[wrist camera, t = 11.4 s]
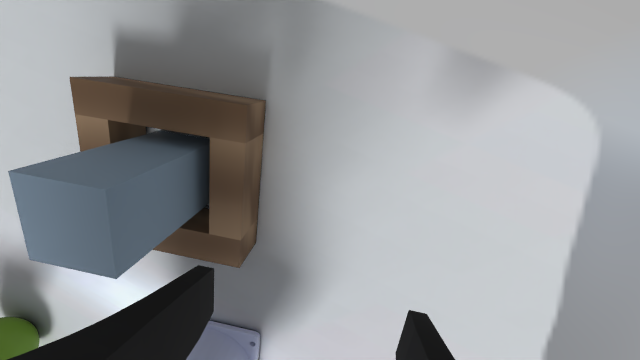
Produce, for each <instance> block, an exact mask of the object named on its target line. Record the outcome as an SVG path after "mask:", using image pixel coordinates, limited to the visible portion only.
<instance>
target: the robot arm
mask: <svg viewBox="0 0 640 360" xmlns="http://www.w3.org/2000/svg"><path fill="white" fill-rule="evenodd" d="M213 308H214V268H209V267H204V266H200V265H198V266H197V267H195V268H193V269H191V270H190V271H188V272H186V273H185V274H183V275H181V276H180V277H178V278H177V279H175V280H173V281H172V282H170V283H168V284H167V285H165V286H163V287H162V288H160V289H158V290H157V291H155V292H153V293H151V294H150V295H148V296H146V297H145V298H143V299H141V300H139V301H137V302H135V303H134V304H132V305H130V306H128V307H126V308H124V309H122V310H121V311H119V312H117V313H115V314H113V315H111V316H109V317H107V318H105V319H103V320H101V321H99V322H97V323H95V324H93V325H91V326H88V327H86V328H84V329H82V330H80V331H78V332H75V333H73V334H71V335H68V336H66V337H64V338H61V339H59V340H56V341H54V342H51V343H49V344H46V345H44V346H41V347H39V348H36V349H34V350H31V351H29V352H26V353H24V354H21V355H18V356H15V357H13V358H10V359H7V360H258V358H259V347H260V334H259V333H258V332H256V331H252V330H248V329H244V328H239V327H235V326H231V325H226V324H222V323H217V322H213V321H209V320H210V317H211V315H212V313H213ZM396 360H455V359H454V357H453V356H452V354H451V353H450V351H449V349H448V348H447V346H446V345H445V343H444V341H443V340H442V338H441V337H440V335H439V333H438V332H437V330H436V328H435V327H434V325H433V323H432V322H431V320H430V319H429V317H428V315H427V314H425V313H420V312H415V311H411V310H409V311H408V314H407V318H406V321H405V324H404V328H403V331H402V334H401V337H400V341H399V344H398V347H397V351H396Z"/></svg>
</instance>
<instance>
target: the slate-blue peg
mask: <svg viewBox="0 0 640 360" xmlns="http://www.w3.org/2000/svg"><path fill="white" fill-rule="evenodd" d="M8 172H9V176H10V180H11V184H12V188H13V193H14V197H15V201H16V205H17V209H18V213H19V218H20V222H21V226H22V230H23V234H24V238H25V242H26V247H27V251H28V255H29V259H30V260H33V261H38V262H42V263H47V264H51V265H56V266H60V267H65V268H69V269H74V270H78V271H83V272H87V273H92V274H96V275H101V276H105V277H110V278H114V279H117V278H118V277H119V276H121V275H122V274H123V273H124V272H125V271H127V270H128V269H129V268H130V267H132V266H133V265H134V264H135V263H136V262H138V261H139V260H140V259H141V258H143V257H144V256H145V255H146V254H148V253H149V252H150V251H151V250H152V249H154V248H155V247H156V246H157V245H159V244H160V243H161V242H162V241H164V240H165V239H166V238H167V237H168V236H170V235H171V234H172V233H173V232H175V231H176V230H177V229H178V228H179V227H181V226H182V225H183V224H184V223H186V222H187V221H188V220H189V219H191V218H192V217H193V216H194V215H195V214H197V213H198V212H199V211H200V210H202V209H203V208H204V207H205V206H206V205H208V204H209V180H210V139H209V138H203V137H197V136H191V135H185V134H179V133H173V132H167V131H162V130H160V131H157V132H153V133H149V134H145V135H142V136H138V137H134V138H130V139H127V140H123V141H119V142H115V143H112V144H108V145H104V146H101V147H97V148H93V149H89V150H86V151H82V152H78V153H74V154H71V155H67V156H63V157H59V158H56V159H52V160H48V161H45V162H41V163H37V164H33V165H30V166H26V167H22V168H18V169H15V170H11V171H8Z"/></svg>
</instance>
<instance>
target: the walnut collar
mask: <svg viewBox="0 0 640 360" xmlns="http://www.w3.org/2000/svg"><path fill="white" fill-rule="evenodd" d="M70 84H71V90H72V97H73V104H74V111H75V117H76V124H77V131H78V138H79V144H80V151H81V152H82V151H86V150H89V149H93V148H97V147H101V146H104V145H108V144H112V143H115V142H119V141H123V140H127V139H130V138H134V137H138V136H142V135H145V134H146V127H152V128H158V129H164V130H170V131H175V132H181V133H187V134H193V135H199V136H205V137H210V180H209V209H208V208H203V209H202V210H200V211H199V212H198V213H197V214H195V215H194V216H193V217H192V218H191V219H189V220H188V221H187V222H186V223H184V224H183V225H182V226H181V227H179V228H178V229H177V230H176V231H175V232H173V233H172V234H171V235H170V236H168V237H167V238H166V239H165V240H164V241H162V242H161V243H160V244H159V245H157V246H156V247H155V248H154V249H152V250H157V251H162V252H166V253H171V254H176V255H181V256H185V257H190V258H195V259H200V260H204V261H209V262H214V263H218V264H223V265H228V266H233V267H237V268H240V266H241V264H242V263H243V261H244V260H245V258H246V257H247V255H248V254H249V252H250V251H251V249H252V248H253V246H254V245H255V243H256V233H257V219H258V205H259V190H260V176H261V162H262V148H263V133H264V119H265V105H266V101H265V100H259V99H252V98H246V97H240V96H233V95H227V94H220V93H214V92H208V91H201V90H195V89H189V88H182V87H176V86H170V85H163V84H157V83H150V82H144V81H138V80H131V79H125V78H119V77H70Z"/></svg>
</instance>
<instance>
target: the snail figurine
mask: <svg viewBox="0 0 640 360" xmlns="http://www.w3.org/2000/svg"><path fill="white" fill-rule="evenodd" d="M38 346H39V334H38V331H37V329H36V328H35V327H34V325H33V324H31V323H30V322H28V321H27V320H24V319H21V318H17V317H2V318H0V360H7V359H10V358H13V357H15V356H18V355H21V354H24V353H26V352H29V351H31V350H34V349H36V348H38Z"/></svg>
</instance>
